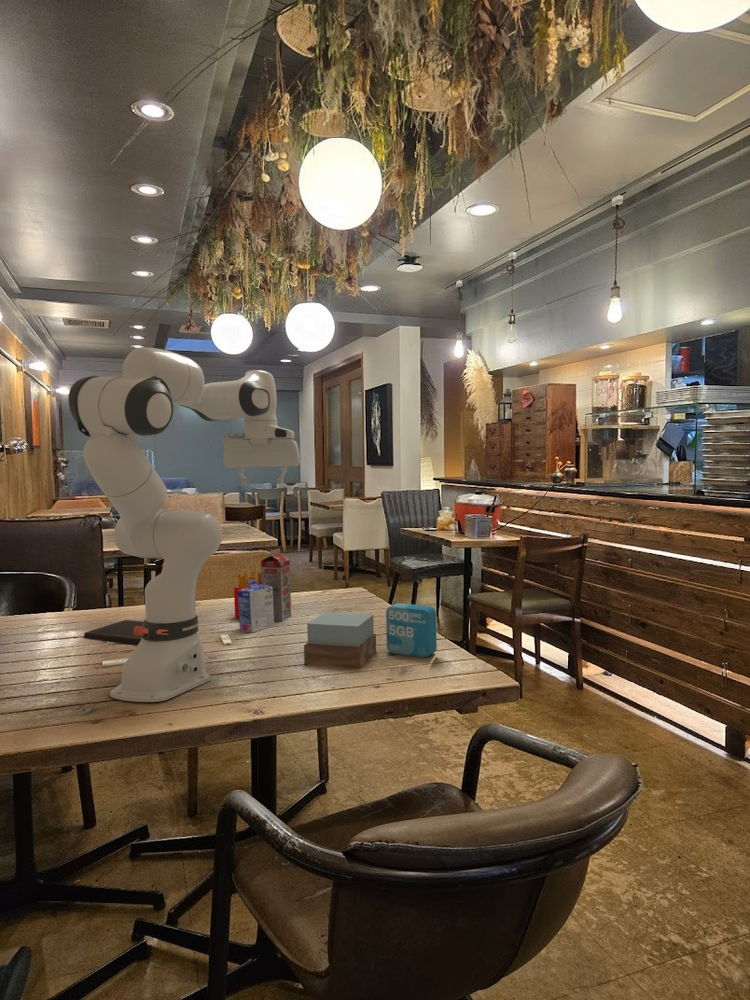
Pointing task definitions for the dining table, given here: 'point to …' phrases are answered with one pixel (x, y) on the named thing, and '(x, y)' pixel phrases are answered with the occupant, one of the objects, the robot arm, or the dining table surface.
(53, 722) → the dining table surface
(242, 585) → the french fries container
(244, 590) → the ink cartridge box
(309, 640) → the slate top block
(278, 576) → the juice carton
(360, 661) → the walnut base block
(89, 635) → the hardcover book
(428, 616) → the data package
